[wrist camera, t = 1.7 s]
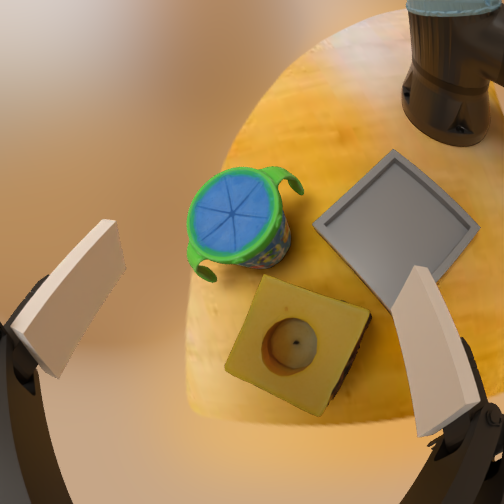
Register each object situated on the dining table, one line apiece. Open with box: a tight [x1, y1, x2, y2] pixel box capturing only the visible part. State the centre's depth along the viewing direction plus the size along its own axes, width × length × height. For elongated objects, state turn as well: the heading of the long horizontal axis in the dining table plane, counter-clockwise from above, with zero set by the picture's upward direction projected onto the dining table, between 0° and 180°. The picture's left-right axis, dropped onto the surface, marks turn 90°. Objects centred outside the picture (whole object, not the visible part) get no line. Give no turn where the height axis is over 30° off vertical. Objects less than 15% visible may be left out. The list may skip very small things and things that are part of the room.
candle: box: [225, 274, 372, 417], centre depth 26 cm, size 10×10×10 cm
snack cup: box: [187, 166, 304, 283], centre depth 32 cm, size 16×10×10 cm
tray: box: [312, 149, 481, 315], centre depth 29 cm, size 15×15×2 cm
